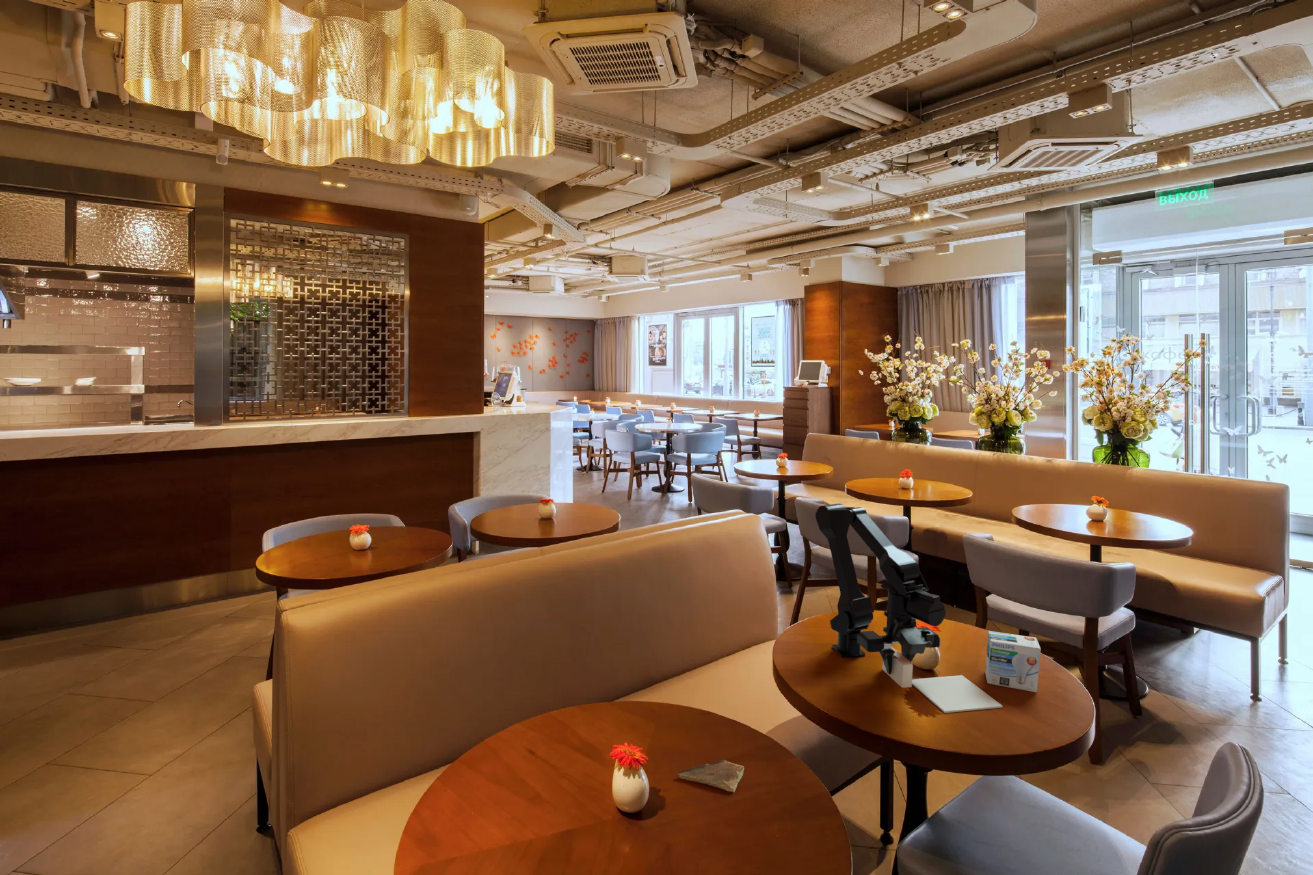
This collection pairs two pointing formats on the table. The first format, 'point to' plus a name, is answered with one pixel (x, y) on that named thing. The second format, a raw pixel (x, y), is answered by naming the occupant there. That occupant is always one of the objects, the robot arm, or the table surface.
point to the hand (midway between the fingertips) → (896, 672)
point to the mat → (955, 694)
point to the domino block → (900, 669)
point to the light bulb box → (1012, 661)
